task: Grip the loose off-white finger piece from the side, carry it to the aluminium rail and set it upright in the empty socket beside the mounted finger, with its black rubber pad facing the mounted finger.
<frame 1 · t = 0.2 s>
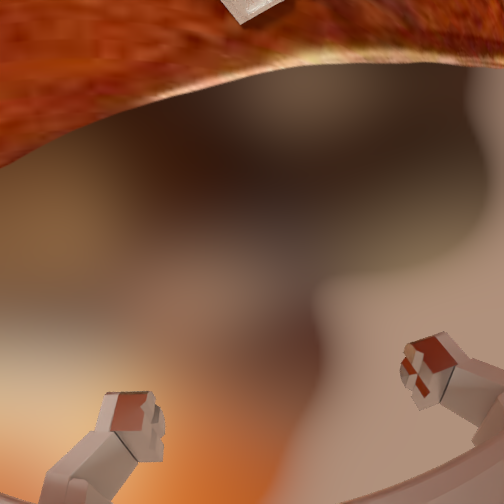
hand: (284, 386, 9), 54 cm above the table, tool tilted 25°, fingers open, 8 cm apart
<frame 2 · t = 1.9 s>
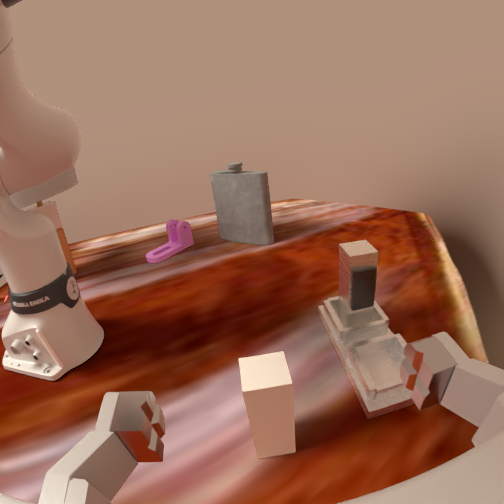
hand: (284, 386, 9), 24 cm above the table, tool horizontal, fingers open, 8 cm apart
bracket: (168, 253, 82), on the table
hip flask: (245, 240, 83), on the table
loose finger: (274, 441, 31), on the table
finger rail: (367, 351, 41), on the table
lamp: (63, 277, 76), on the table
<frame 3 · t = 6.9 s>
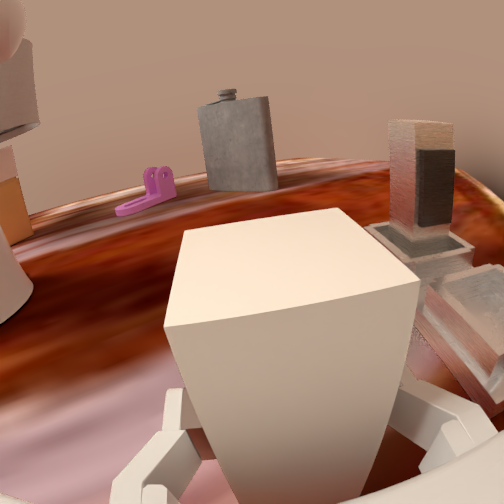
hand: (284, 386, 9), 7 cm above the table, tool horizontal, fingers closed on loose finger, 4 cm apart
bracket: (144, 206, 63), on the table
hip flask: (240, 190, 63), on the table
loose finger: (296, 492, 11), on the table, touching gripper
finger rail: (447, 302, 22), on the table
lamp: (18, 240, 56), on the table
when the fingers open (9 cm above the table, at t = 12.0 s): loose finger stays where it is, resting on finger rail.
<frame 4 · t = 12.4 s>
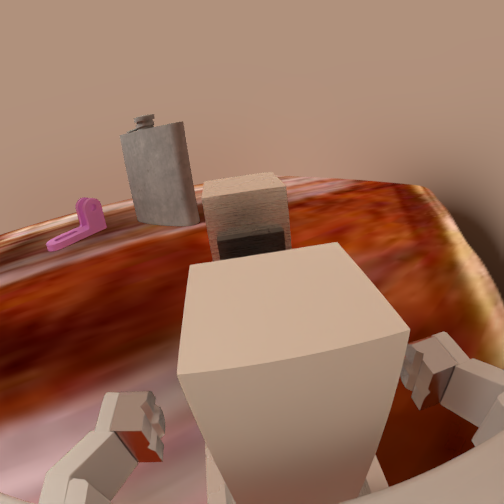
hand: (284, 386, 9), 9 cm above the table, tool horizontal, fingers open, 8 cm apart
bracket: (75, 239, 58), on the table
hip flask: (164, 222, 59), on the table
loose finger: (294, 499, 12), point 1 cm above the table, touching finger rail
finger rail: (279, 430, 17), on the table
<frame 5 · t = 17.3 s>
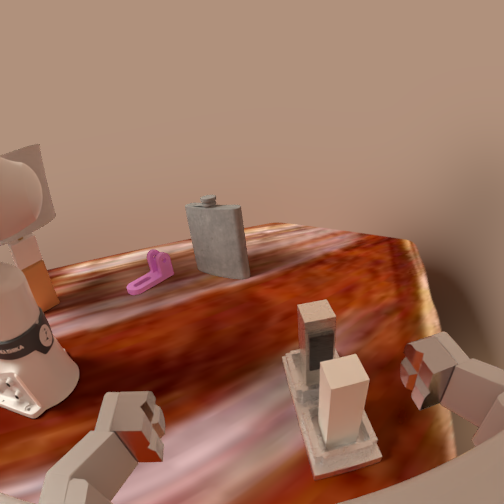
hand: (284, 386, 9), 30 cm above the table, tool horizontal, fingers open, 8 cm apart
bracket: (149, 283, 81), on the table
hip flask: (221, 273, 82), on the table
loose finger: (336, 432, 35), point 1 cm above the table, touching finger rail
finger rail: (325, 408, 40), on the table
lamp: (47, 306, 74), on the table
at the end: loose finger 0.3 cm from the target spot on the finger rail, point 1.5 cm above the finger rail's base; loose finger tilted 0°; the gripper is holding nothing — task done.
